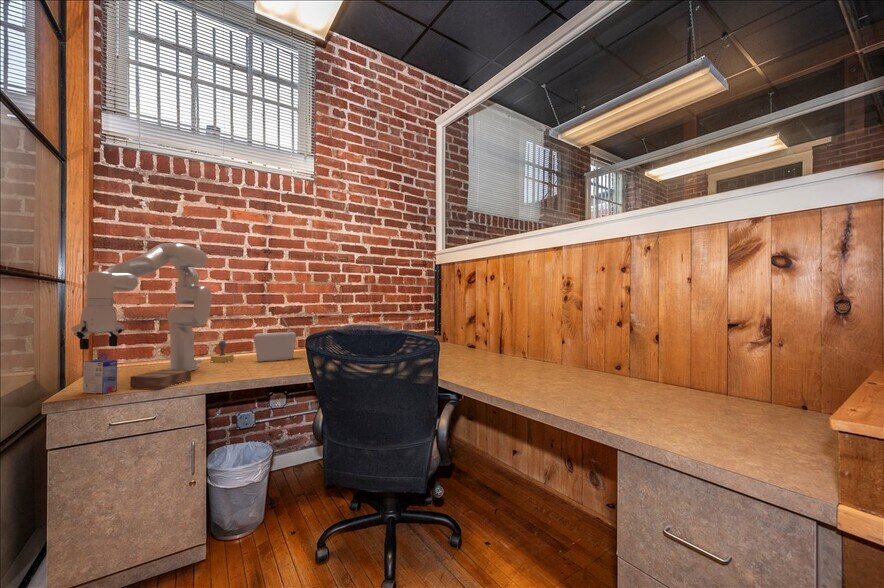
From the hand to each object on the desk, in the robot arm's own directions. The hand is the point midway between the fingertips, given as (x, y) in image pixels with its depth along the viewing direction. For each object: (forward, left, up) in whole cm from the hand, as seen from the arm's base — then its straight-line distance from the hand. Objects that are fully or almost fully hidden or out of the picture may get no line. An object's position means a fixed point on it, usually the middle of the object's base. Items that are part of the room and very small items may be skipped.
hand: (99, 347), depth 136 cm
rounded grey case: (-73, +24, -17) cm, 78 cm away
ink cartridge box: (-1, 0, -17) cm, 17 cm away
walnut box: (-14, +12, -18) cm, 26 cm away
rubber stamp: (-64, -3, -18) cm, 66 cm away
